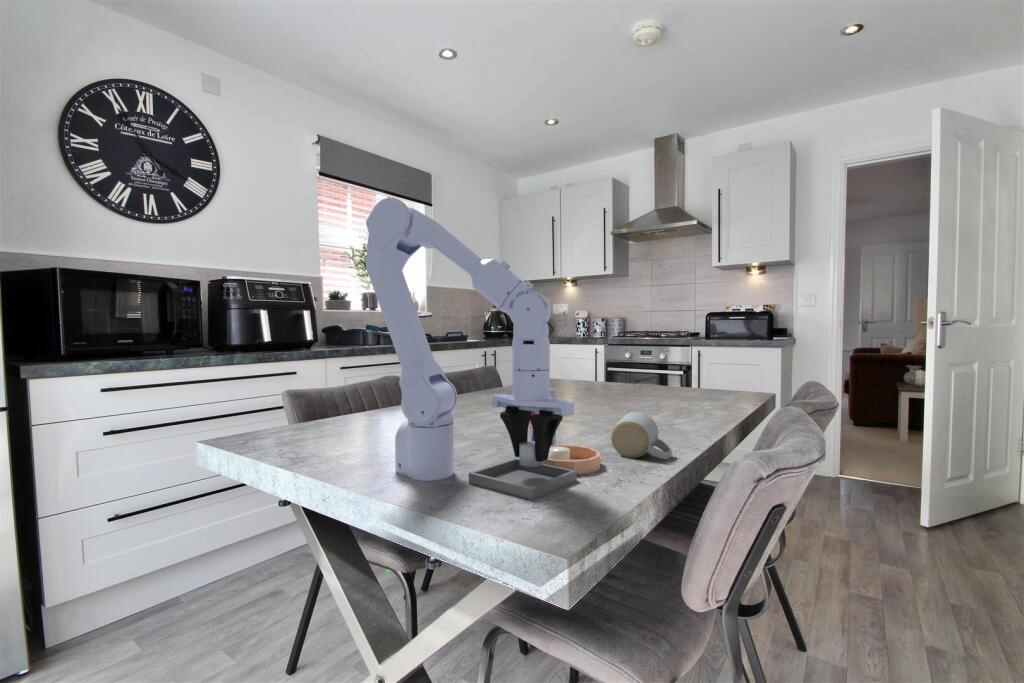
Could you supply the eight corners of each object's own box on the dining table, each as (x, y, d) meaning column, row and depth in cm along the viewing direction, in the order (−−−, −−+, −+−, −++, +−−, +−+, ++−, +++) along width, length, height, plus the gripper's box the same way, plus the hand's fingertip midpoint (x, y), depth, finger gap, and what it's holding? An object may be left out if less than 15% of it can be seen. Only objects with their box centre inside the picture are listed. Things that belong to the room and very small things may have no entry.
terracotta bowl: (520, 470, 80) (520, 454, 80) (558, 457, 88) (558, 442, 88) (577, 483, 72) (576, 465, 72) (612, 467, 81) (612, 451, 81)
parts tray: (468, 487, 71) (468, 472, 71) (515, 471, 79) (515, 458, 79) (531, 505, 63) (531, 489, 63) (576, 485, 72) (576, 470, 71)
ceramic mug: (608, 457, 88) (609, 416, 87) (619, 448, 95) (619, 409, 95) (668, 465, 83) (669, 421, 83) (674, 454, 90) (675, 414, 90)
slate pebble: (514, 463, 73) (514, 444, 73) (529, 459, 75) (529, 440, 75) (533, 468, 70) (533, 447, 70) (547, 463, 73) (547, 443, 73)
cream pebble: (543, 467, 78) (543, 449, 78) (556, 463, 81) (556, 445, 81) (562, 471, 76) (561, 453, 76) (574, 466, 79) (574, 448, 79)
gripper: (585, 370, 71) (585, 460, 71) (511, 366, 80) (512, 446, 81) (558, 373, 66) (558, 471, 66) (483, 368, 75) (483, 454, 75)
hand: (531, 458), depth 73 cm, fingers closed on slate pebble, 4 cm apart
